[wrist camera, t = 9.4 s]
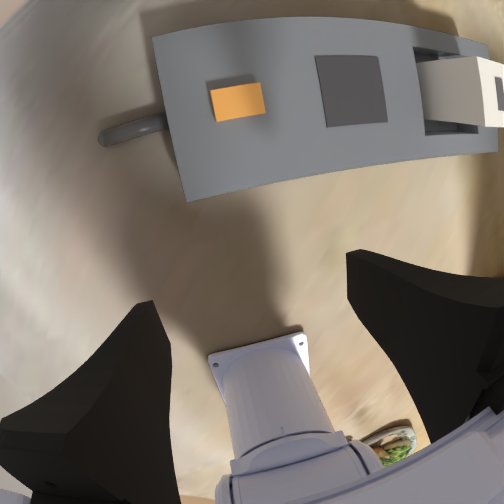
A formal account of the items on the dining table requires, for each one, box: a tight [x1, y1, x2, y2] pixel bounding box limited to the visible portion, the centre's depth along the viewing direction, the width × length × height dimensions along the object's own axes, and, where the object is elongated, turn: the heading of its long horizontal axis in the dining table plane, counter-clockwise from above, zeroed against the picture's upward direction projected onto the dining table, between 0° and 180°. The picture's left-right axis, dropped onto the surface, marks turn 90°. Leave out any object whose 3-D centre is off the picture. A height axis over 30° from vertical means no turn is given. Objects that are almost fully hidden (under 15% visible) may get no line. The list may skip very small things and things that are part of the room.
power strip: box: [98, 17, 499, 202], centre depth 16 cm, size 28×9×4 cm, turn 100°
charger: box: [416, 56, 504, 127], centre depth 14 cm, size 4×4×7 cm
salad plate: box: [362, 426, 417, 468], centre depth 36 cm, size 19×18×5 cm
